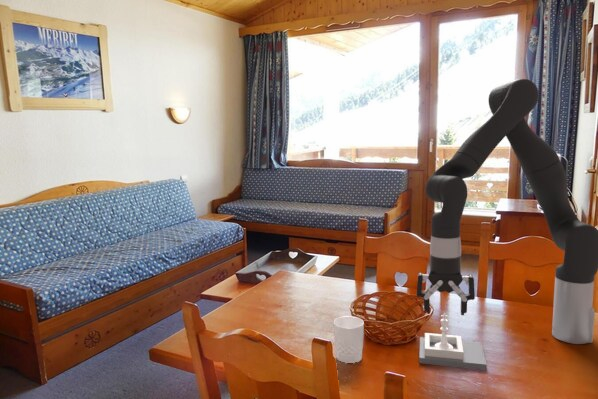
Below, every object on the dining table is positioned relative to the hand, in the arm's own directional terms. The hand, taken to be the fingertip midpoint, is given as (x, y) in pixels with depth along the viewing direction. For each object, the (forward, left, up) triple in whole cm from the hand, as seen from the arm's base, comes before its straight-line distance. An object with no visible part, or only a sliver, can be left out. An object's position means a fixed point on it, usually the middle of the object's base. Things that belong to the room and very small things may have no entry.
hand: (444, 313), depth 119 cm
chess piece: (0, 0, -10) cm, 10 cm away
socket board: (-2, 0, -12) cm, 12 cm away
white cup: (+24, +7, -12) cm, 28 cm away
